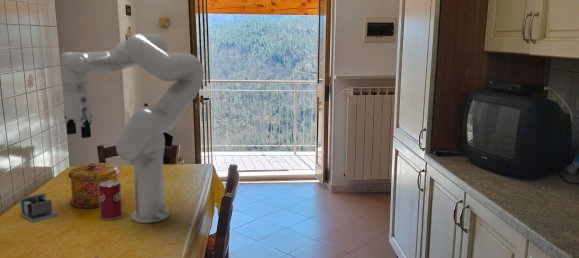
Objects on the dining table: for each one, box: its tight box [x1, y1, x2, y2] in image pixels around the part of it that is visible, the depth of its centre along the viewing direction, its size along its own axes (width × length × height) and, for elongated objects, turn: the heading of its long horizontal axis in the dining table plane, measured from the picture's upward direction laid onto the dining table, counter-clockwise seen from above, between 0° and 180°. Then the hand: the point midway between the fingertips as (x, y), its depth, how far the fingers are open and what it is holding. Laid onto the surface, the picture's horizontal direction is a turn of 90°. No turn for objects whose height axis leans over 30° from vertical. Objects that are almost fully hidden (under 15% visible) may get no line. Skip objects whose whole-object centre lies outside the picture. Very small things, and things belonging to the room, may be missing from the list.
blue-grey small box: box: [31, 197, 53, 216], centre depth 156 cm, size 5×6×5 cm
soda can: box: [97, 180, 123, 221], centre depth 157 cm, size 7×7×12 cm
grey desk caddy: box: [18, 193, 58, 223], centre depth 157 cm, size 10×8×6 cm
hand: (78, 135), depth 163 cm, fingers open, 9 cm apart
